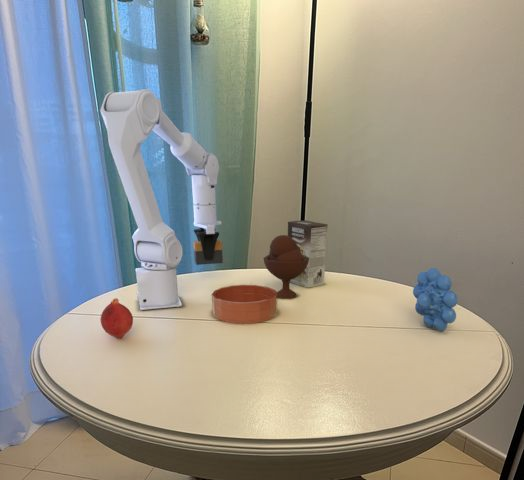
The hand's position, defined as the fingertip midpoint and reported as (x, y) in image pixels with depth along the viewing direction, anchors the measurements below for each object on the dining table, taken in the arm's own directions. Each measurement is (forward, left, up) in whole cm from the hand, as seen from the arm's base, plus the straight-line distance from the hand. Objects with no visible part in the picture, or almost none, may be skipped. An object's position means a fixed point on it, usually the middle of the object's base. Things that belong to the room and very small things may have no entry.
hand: (207, 257), depth 120 cm
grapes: (+37, -46, -8) cm, 59 cm away
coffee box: (+26, -6, -8) cm, 27 cm away
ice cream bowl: (+17, -16, -8) cm, 24 cm away
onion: (-23, -34, -8) cm, 41 cm away
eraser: (0, 0, -1) cm, 1 cm away
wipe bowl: (+4, -26, -7) cm, 27 cm away
